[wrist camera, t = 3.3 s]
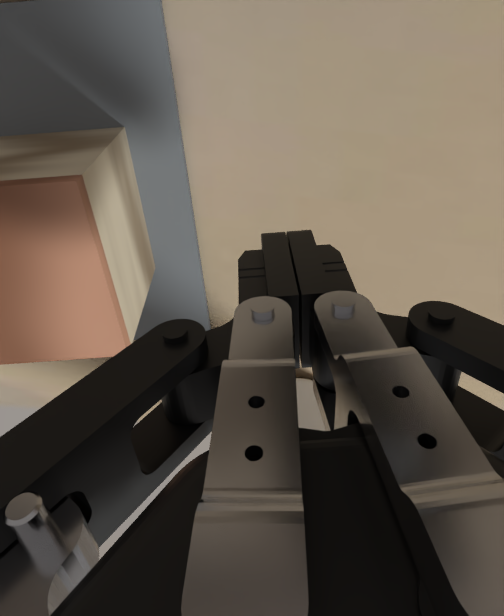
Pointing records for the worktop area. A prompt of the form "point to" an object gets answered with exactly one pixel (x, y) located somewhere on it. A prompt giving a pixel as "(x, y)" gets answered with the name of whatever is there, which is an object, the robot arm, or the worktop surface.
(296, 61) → the worktop surface
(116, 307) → the birch cube
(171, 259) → the slate mat
